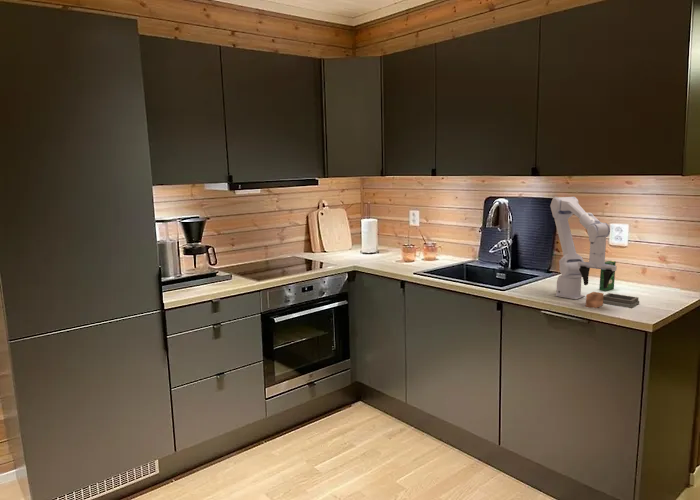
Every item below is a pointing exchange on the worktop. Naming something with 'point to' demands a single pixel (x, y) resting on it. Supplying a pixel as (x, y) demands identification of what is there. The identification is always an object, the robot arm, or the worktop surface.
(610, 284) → the coffee box
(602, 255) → the robot arm
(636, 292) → the worktop surface
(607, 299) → the nest plate
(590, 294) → the terracotta bar
